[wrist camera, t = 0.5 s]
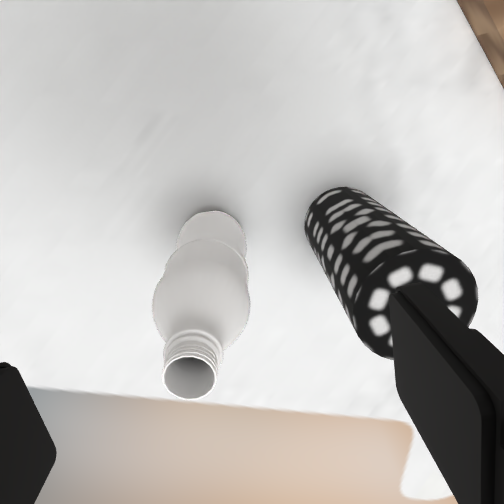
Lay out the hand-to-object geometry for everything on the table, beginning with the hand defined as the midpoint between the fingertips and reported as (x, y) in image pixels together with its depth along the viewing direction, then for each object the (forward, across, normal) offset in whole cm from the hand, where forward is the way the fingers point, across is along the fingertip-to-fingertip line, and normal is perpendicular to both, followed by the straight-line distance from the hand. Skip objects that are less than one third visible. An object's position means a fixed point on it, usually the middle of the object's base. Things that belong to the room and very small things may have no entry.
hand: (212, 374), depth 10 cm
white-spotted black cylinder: (+35, -11, +9) cm, 38 cm away
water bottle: (+35, +4, +7) cm, 36 cm away
